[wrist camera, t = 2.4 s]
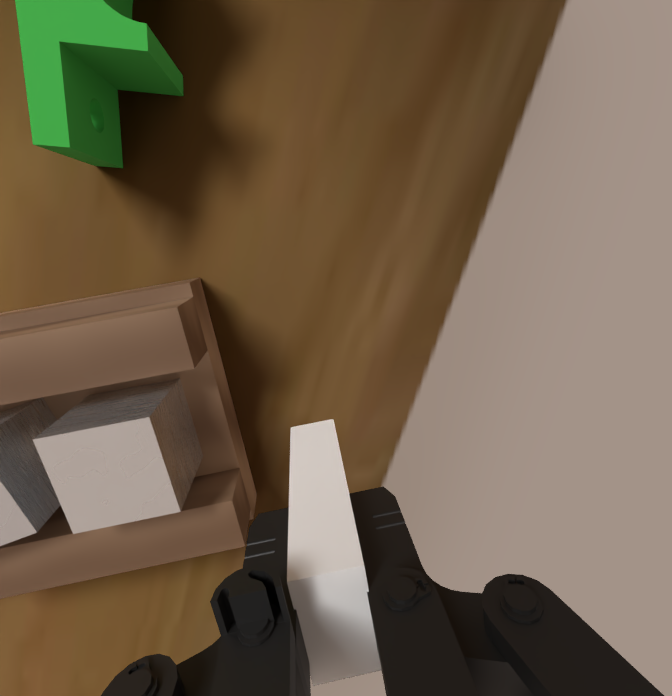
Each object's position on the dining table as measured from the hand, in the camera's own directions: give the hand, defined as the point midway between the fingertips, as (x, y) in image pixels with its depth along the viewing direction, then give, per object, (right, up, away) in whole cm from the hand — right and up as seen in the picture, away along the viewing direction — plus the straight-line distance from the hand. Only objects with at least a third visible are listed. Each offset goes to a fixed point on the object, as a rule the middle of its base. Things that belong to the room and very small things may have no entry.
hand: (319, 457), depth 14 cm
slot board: (-12, 0, +6) cm, 14 cm away
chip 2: (-8, 0, +4) cm, 9 cm away
